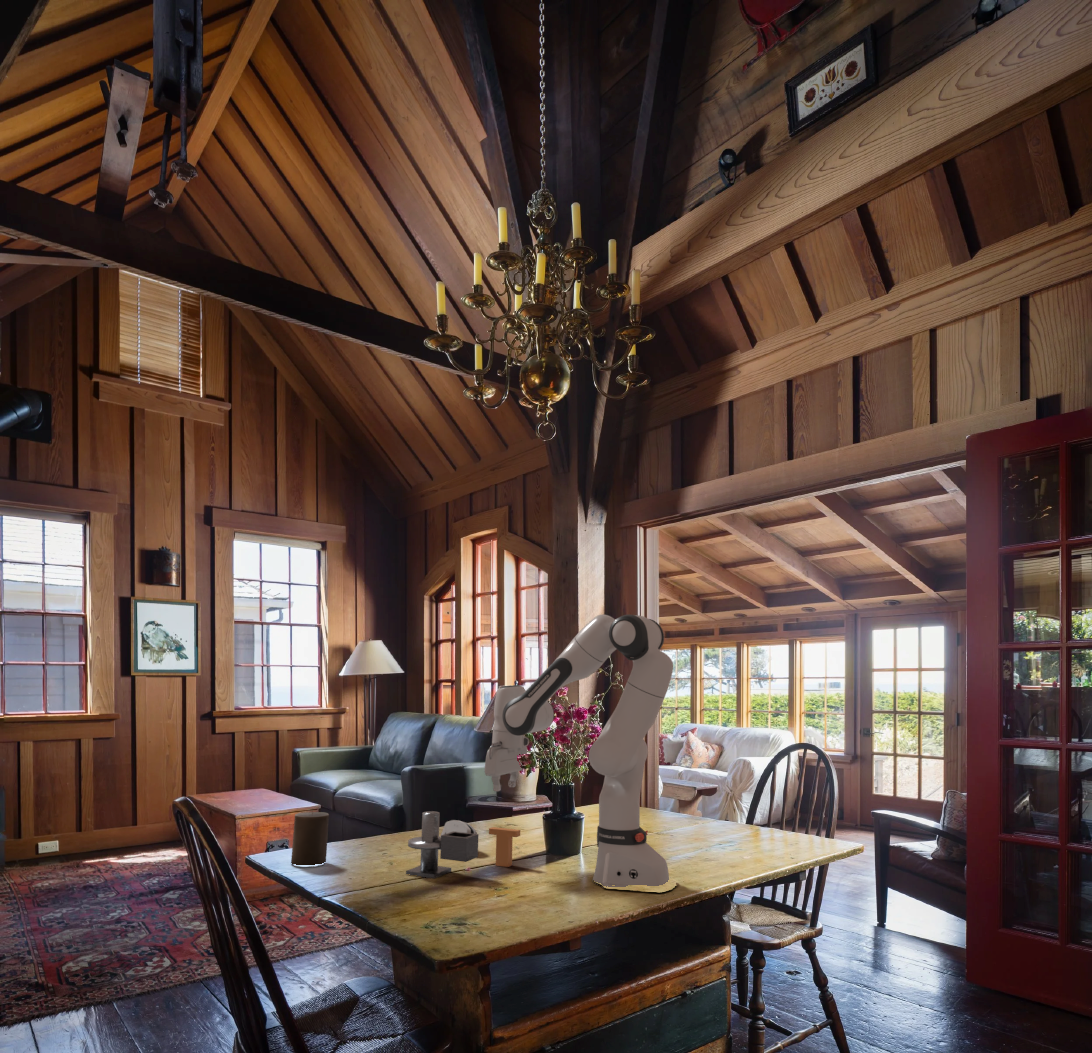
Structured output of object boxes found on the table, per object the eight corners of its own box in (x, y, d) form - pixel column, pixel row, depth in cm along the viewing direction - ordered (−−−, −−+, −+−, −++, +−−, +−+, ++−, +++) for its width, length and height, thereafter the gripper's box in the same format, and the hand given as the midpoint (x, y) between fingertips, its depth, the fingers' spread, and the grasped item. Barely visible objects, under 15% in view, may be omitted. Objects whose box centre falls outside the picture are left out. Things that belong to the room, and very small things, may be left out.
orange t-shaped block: (519, 866, 240) (520, 830, 242) (515, 868, 238) (516, 831, 240) (492, 862, 244) (492, 827, 246) (488, 864, 242) (488, 828, 244)
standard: (482, 874, 231) (483, 813, 233) (460, 884, 220) (462, 820, 223) (422, 866, 239) (424, 807, 241) (398, 875, 228) (400, 814, 231)
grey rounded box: (432, 847, 264) (443, 815, 267) (445, 850, 266) (455, 819, 269) (457, 857, 250) (468, 823, 254) (470, 861, 252) (481, 827, 256)
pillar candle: (313, 869, 233) (317, 813, 236) (283, 865, 236) (287, 810, 239) (332, 862, 242) (336, 808, 245) (304, 859, 245) (307, 806, 248)
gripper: (500, 744, 236) (497, 795, 234) (531, 739, 254) (529, 786, 252) (480, 742, 239) (477, 792, 237) (513, 737, 257) (510, 783, 255)
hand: (504, 789), depth 245 cm, fingers open, 8 cm apart
